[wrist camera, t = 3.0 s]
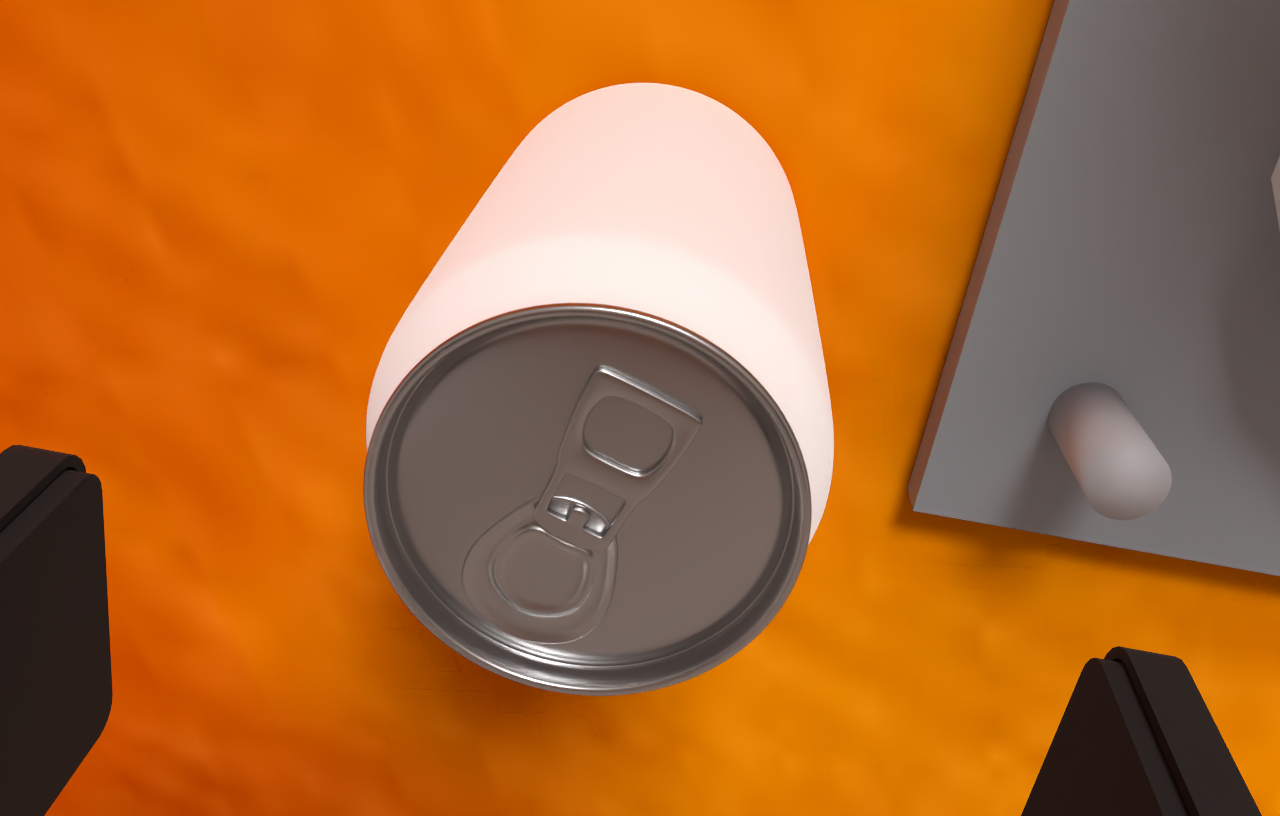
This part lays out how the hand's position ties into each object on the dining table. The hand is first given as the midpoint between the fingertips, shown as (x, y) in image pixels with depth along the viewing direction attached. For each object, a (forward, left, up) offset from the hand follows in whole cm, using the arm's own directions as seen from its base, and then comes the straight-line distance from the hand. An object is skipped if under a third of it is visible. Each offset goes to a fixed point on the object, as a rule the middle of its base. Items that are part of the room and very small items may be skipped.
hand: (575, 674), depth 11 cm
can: (-1, 0, -16) cm, 16 cm away
